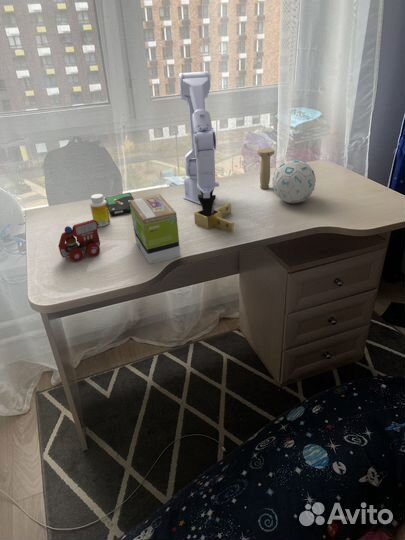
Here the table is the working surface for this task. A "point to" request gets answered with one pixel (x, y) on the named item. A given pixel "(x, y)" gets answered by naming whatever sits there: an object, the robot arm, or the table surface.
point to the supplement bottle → (99, 210)
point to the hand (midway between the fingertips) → (207, 210)
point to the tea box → (155, 228)
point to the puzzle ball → (294, 181)
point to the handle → (265, 166)
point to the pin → (212, 210)
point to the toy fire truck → (80, 241)
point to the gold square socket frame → (215, 219)
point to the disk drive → (119, 204)
